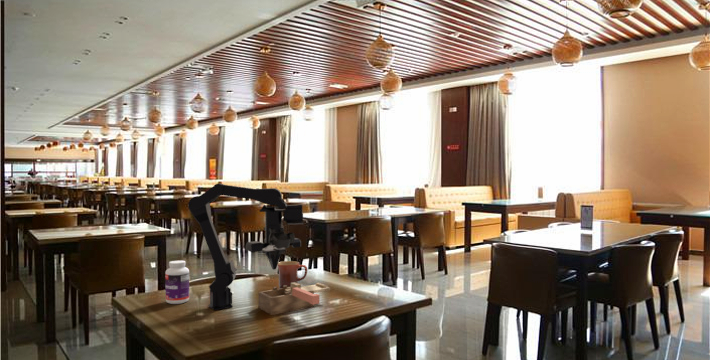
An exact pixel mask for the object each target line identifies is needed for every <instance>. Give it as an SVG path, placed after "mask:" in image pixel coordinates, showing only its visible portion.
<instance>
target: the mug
mask: <svg viewBox="0 0 710 360" xmlns="http://www.w3.org/2000/svg"><path fill="white" fill-rule="evenodd" d="M277 268H278V287H279V289H280V288H283V286H284V285H287V287H291V283H293V282H295V283H298V284H299V282H301V281H303V280H304V279H306V277H307V274H308V267H307V266H306V265H305V264H300V262H299V261H293V260H289V261H288V260H286V261H280V262H279V261H278V264H277ZM300 268H304V274H303V276H301V277H299V275H298V272H299V271H298V269H300Z"/></svg>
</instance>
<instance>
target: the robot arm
mask: <svg viewBox="0 0 710 360" xmlns="http://www.w3.org/2000/svg"><path fill="white" fill-rule="evenodd" d="M220 196H225V197H231V198H238V199H239V198H241V199H245V200H246V199H247V200H253V201H256V202H260V203H263V206H262V207H261V209H259V212H260V213H264V215H265V221H264V223H265V225H264V227H263V231H265V238H264V239H263V242H261V241H257V240H254V241H247V242H246V244H245V251H248V252H250V253H257V252H263V253H264V254H265V256H266V258H267V259H268V262H269V264H270V266H271V269H272V270H273V271H274V270H276V269H277V268H278V266H277V264H278V263H279V261H280V258H281V256H282V254H283V253H284V252H286V251H287V249H289V248H290V246H291V247H292V248H301V247H302V241H301V239H300V238H297V237H296V236H295V233H294V232H287V233H286V232H285V228H284V227H283V222H286V224H287V225H304V212H303V204H290V205H288V203H287V202H286V201H285V200H284V199H283V194H282V192H281V191H280V190H279V189H278V188H276V187H274V188H273V187H270V188H267V187H266V188H251V187H244V186H237V185H229V184H223V183H215V184H214V185H213V186H212V187H211V188H210V189H208V190H206V191H205V192H203V193H201V194H199V195H197V196H193V197H192V198H190V199H189V201H188V203H187V207H188V209H189V212H190V213H191V215H192V216H193V218H194V219H195V220H196V222H197V223H198V224H199V227H200V230H201V232H202V234H203V235H202V236H203V237H204V240H205V242H206V243H205V244H206V246H207V248H208V251H209V253H210V257H211V258H212V261H213V269H214V277H215V279H214V280H213V281H212V282H211V283H210V285H209V286H208V287H209V304H208V307H209V308H211V309H212V310H213V311H218V310H219V311H220V310H224V309H229V308H232V307H233V292H232V290H231V287H229V286H230V285H232V283H233V282H234V280H235V278H236V276H237V268H236V267H235V264H234V260H233V259H231V260H229V259H228V258H227V257H226V254H225V252H224V248H223V245H222V244H221V242H220V241H221V240H220V238H219V236H218V233H217V231H216V228H215V225H214V223H213V220H212V209H211V203H213V202H215V201H216V200H217V199H219V197H220ZM267 205H269V206H267ZM276 207H277V209H276ZM278 208H279V209H278Z"/></svg>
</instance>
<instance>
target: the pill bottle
mask: <svg viewBox="0 0 710 360" xmlns="http://www.w3.org/2000/svg"><path fill="white" fill-rule="evenodd" d="M168 266H169V268H167V269H166V270H165V274H164V275H165V277H164V278H165V285H164V286H165V302H166V303H168V304H171V305H179V304H183V303H186V302H188V301H189V300H190V269H189V268H188V267H186V261H185V260H170V261H169V262H168Z"/></svg>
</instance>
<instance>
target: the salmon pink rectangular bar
mask: <svg viewBox="0 0 710 360" xmlns="http://www.w3.org/2000/svg"><path fill="white" fill-rule="evenodd" d="M292 295H293V296H295V297H298V298H300V299H302V300H304V301H307V302H309V303H310V304H312V305H314V306H315V305H318V304H320V302H321V301H320V294H318V293H314V294H313V293H310V292H308V291H305V290H303V289H300V288H298V287H296V288H292Z"/></svg>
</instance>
